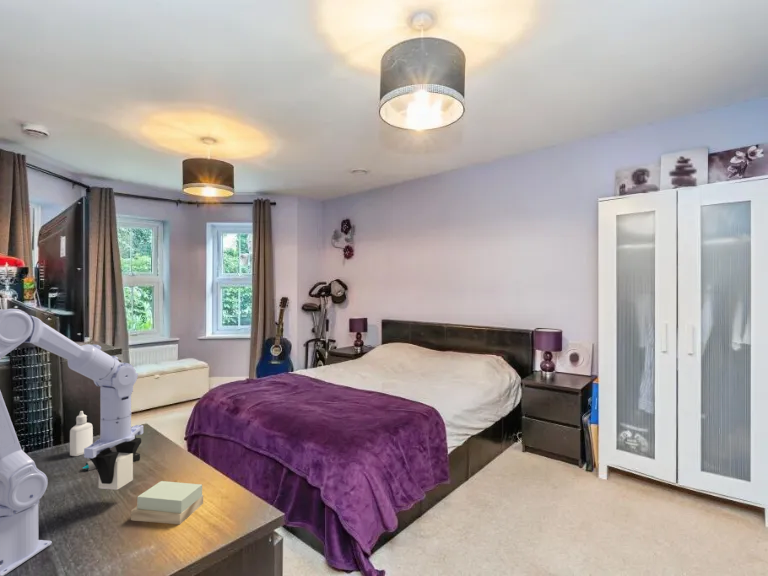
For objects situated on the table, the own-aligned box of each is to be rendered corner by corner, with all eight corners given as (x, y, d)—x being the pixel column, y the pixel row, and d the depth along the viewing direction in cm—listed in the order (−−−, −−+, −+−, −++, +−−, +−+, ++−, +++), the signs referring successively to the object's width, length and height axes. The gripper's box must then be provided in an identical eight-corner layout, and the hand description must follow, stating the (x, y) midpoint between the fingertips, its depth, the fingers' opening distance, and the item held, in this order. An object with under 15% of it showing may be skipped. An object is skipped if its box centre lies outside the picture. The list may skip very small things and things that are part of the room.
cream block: (117, 489, 88) (117, 461, 88) (98, 488, 88) (98, 460, 88) (132, 479, 92) (132, 453, 92) (114, 478, 93) (114, 452, 93)
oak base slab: (180, 527, 82) (180, 514, 82) (130, 523, 83) (130, 510, 83) (203, 506, 90) (203, 495, 90) (157, 502, 91) (157, 491, 91)
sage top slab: (181, 513, 82) (181, 500, 82) (137, 508, 84) (137, 496, 84) (202, 496, 89) (202, 484, 89) (160, 492, 91) (161, 480, 91)
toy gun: (79, 471, 106) (79, 452, 106) (129, 455, 116) (129, 438, 116) (95, 481, 101) (94, 461, 101) (145, 464, 111) (145, 446, 111)
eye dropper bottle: (95, 451, 118) (95, 410, 118) (71, 458, 114) (71, 415, 114) (91, 448, 121) (91, 407, 121) (67, 453, 117) (67, 412, 117)
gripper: (105, 428, 83) (105, 495, 83) (155, 407, 97) (155, 464, 97) (74, 426, 83) (74, 492, 83) (128, 406, 98) (128, 462, 98)
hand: (116, 477), depth 90 cm, fingers closed on cream block, 4 cm apart
